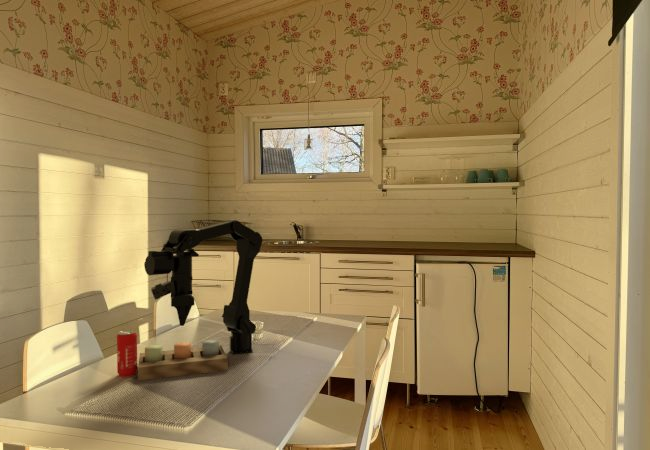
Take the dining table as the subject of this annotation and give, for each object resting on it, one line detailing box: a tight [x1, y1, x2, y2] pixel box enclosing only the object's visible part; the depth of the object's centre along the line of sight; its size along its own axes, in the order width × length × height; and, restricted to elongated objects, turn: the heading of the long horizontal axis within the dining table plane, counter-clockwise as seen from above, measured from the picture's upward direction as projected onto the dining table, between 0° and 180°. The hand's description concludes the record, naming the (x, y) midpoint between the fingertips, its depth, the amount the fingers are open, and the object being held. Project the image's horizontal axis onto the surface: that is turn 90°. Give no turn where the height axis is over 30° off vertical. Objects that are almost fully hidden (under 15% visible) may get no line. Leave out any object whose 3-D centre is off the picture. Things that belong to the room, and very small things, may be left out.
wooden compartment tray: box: [137, 345, 229, 381], centre depth 139 cm, size 24×14×4 cm, turn 109°
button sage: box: [144, 344, 164, 362], centre depth 136 cm, size 5×5×4 cm
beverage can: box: [116, 329, 138, 378], centre depth 133 cm, size 5×5×12 cm
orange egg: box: [173, 341, 192, 359], centre depth 139 cm, size 5×5×4 cm
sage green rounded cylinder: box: [201, 339, 220, 357], centre depth 142 cm, size 5×5×4 cm
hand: (182, 325), depth 140 cm, fingers closed
